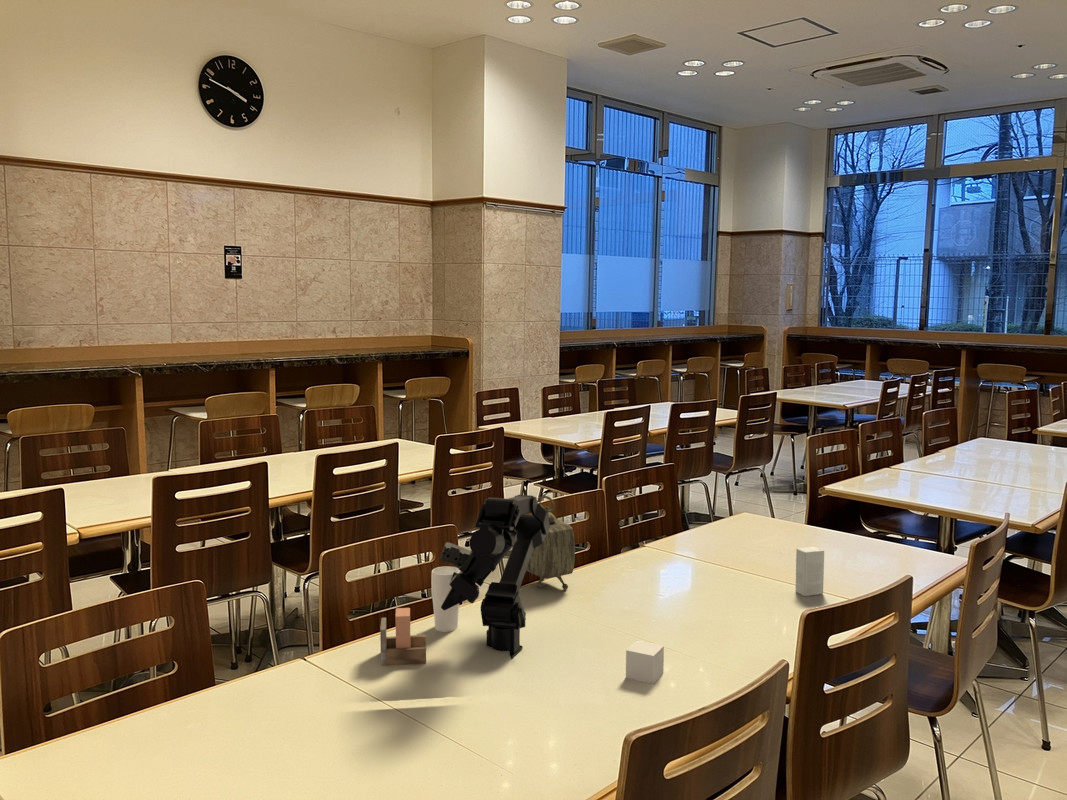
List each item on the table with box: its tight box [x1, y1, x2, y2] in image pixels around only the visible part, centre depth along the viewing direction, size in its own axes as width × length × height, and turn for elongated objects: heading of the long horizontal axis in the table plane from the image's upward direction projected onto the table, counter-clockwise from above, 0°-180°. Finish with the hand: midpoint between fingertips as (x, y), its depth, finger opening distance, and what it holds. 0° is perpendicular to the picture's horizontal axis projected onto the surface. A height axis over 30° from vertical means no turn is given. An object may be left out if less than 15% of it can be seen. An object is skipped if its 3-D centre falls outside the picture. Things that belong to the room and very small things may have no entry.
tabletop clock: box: [526, 495, 576, 591], centre depth 237 cm, size 14×9×25 cm, turn 34°
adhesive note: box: [625, 640, 665, 684], centre depth 182 cm, size 6×6×6 cm
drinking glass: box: [430, 565, 460, 633], centre depth 204 cm, size 7×7×15 cm
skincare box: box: [795, 546, 825, 597], centre depth 233 cm, size 6×4×12 cm
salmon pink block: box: [395, 607, 411, 649], centre depth 187 cm, size 3×5×10 cm, turn 8°
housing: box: [379, 617, 427, 667], centre depth 187 cm, size 10×8×9 cm
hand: (442, 608), depth 188 cm, fingers closed
